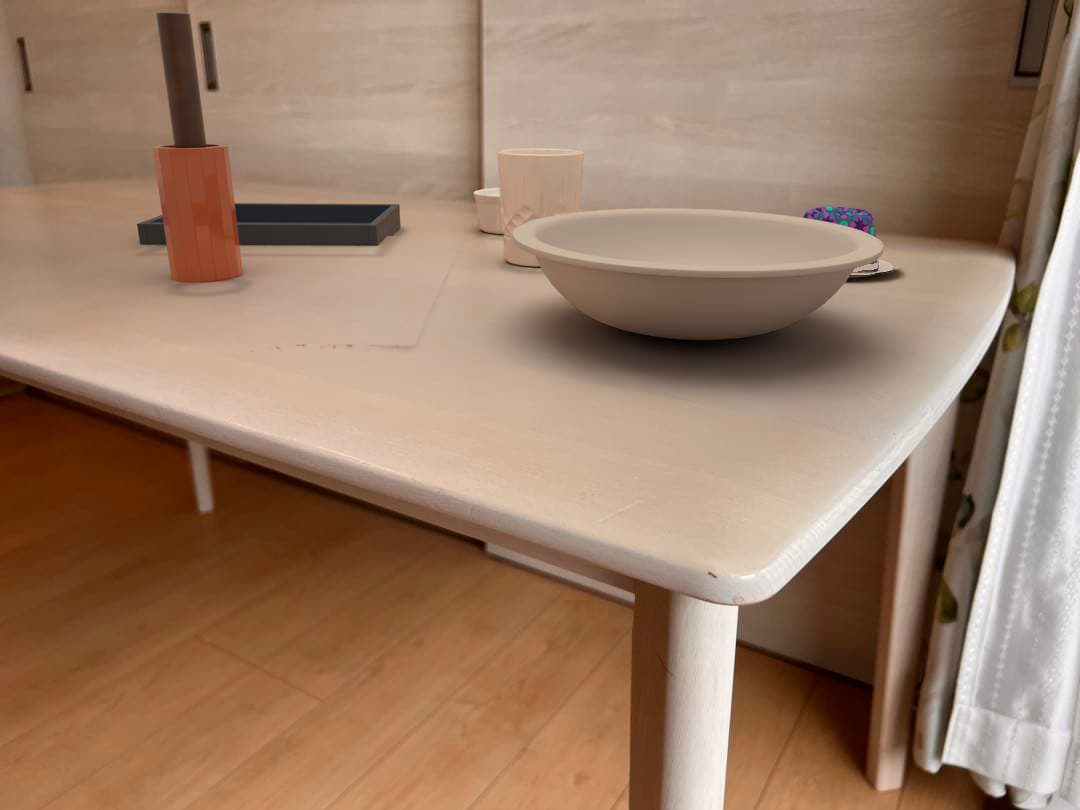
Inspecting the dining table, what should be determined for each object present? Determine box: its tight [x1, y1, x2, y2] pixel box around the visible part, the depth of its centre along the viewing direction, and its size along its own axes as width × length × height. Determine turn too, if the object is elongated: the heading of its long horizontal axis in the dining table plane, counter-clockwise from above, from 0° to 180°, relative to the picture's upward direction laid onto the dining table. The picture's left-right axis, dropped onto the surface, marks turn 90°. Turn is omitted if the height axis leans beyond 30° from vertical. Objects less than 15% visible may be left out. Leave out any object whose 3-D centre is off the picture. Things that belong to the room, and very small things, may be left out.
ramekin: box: [473, 187, 505, 235], centre depth 98 cm, size 9×9×4 cm
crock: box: [151, 142, 244, 284], centre depth 70 cm, size 6×6×11 cm
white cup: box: [497, 147, 585, 268], centre depth 80 cm, size 8×8×10 cm
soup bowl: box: [512, 207, 885, 341], centre depth 58 cm, size 24×24×7 cm
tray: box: [136, 202, 402, 247], centre depth 92 cm, size 24×16×3 cm, turn 90°
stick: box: [155, 12, 207, 148], centre depth 68 cm, size 2×2×20 cm
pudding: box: [802, 206, 893, 278], centre depth 78 cm, size 12×12×5 cm
